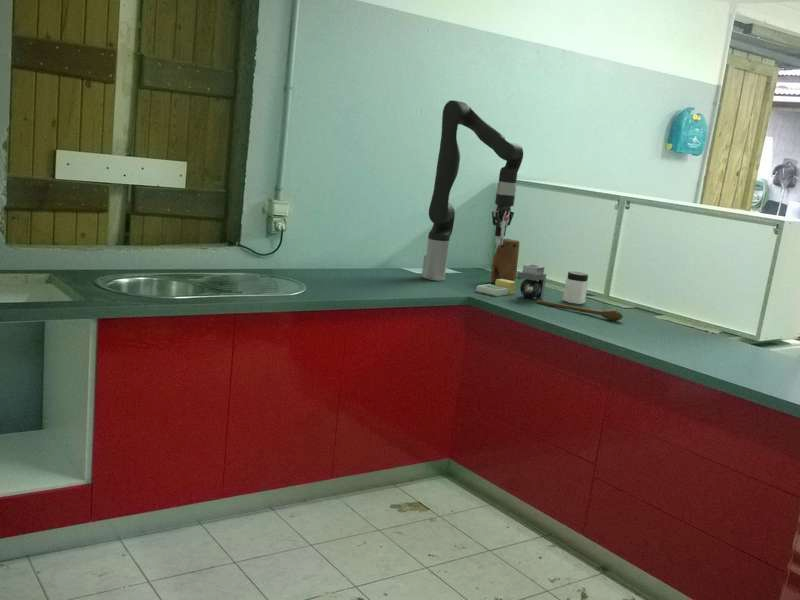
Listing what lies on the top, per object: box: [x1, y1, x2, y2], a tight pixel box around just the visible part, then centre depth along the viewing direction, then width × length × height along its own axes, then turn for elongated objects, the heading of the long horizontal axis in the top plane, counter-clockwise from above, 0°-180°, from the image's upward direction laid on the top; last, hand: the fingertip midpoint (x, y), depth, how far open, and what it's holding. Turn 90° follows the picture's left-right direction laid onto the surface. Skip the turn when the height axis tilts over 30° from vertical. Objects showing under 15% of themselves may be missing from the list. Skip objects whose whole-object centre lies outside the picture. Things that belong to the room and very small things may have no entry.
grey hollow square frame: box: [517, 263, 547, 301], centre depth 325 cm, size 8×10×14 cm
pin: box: [495, 215, 508, 246], centre depth 323 cm, size 4×4×12 cm
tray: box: [475, 283, 509, 297], centre depth 328 cm, size 10×10×2 cm
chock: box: [494, 279, 517, 295], centre depth 334 cm, size 7×5×5 cm
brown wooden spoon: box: [535, 299, 624, 322], centre depth 308 cm, size 5×35×5 cm
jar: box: [562, 271, 589, 305], centre depth 329 cm, size 9×8×12 cm
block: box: [490, 238, 521, 284], centre depth 351 cm, size 11×8×20 cm
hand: (499, 235), depth 324 cm, fingers closed on pin, 3 cm apart
